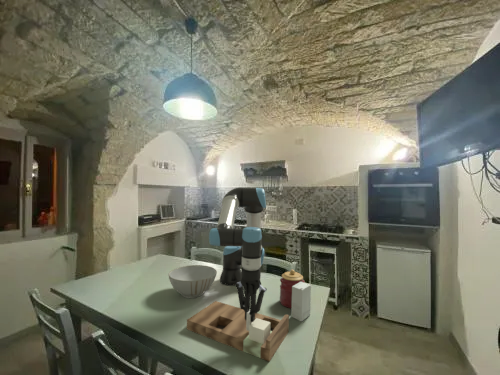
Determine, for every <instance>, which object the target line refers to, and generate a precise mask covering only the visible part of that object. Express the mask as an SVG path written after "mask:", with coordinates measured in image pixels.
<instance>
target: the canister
mask: <svg viewBox="0 0 500 375" xmlns="http://www.w3.org/2000/svg"><path fill="white" fill-rule="evenodd" d="M279 281H280V285H279V288H280V289H279V291H280V292H279V294H280V295H279V302H280V305H282V306H283V307H285V308H289V309H292V286H294V285H296V284H297V283H299V282H303V283H306V282H305V280H304V276H303V275H302V274H301V273H299V272H297V271H295V270H294V269H290V271H285V272H284V273H282V274H281V277H280V279H279Z"/></svg>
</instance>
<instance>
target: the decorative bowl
mask: <svg viewBox="0 0 500 375" xmlns="http://www.w3.org/2000/svg"><path fill="white" fill-rule="evenodd" d="M216 277H217V269H216V268H214V267H213V266H209V265H202V264H190V265H183V266H179V267H176V268H174V269H172V270H171V271H169V272H168V279H169V280H168V281H169V282H170V284H171V286H172V288H173V289H174V291H176V292H177V293H179V294H181V296H182V297H183V298H186V299H195V298H199V297H201V296H203V295H204V294H205V292H206V291H208V290H209V289H210V287H211V286H212V285H213V283H214V282H215V280H216Z"/></svg>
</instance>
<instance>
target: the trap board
mask: <svg viewBox="0 0 500 375" xmlns="http://www.w3.org/2000/svg"><path fill="white" fill-rule="evenodd" d="M256 318H258V319H261V320H265V321H268V322H271V325H270V335H269V337H268V338H267V339H266V342H265V343H264V344H261V343H258V342H256V341H253V340H250V339H249V331H247V330H246V320H245V311H244V310H243V309H241V308H240V307H237V306H233V305H231V304H227V303H224V302H220V301H217V300H215V301H213V302H212V303H210V304H209V305H207V306H205V307H204V308H203V309H201V310H200V311H198V312H196V313H195V314H193V315H192V316H191V317H188V318H187V319H186V330H188V331H190V332H193V333H196V334H197V335H200V336H203V337H205V338H208V339H211V340H213V341H216V342H218V343H221V344H223V345H225V346H229V347H230V348H233V349H236V350H239V351H242V352H243V353H245V354H246V353H247V354H249V355H252V356H254V357H256V358H259V359H261V360H264V361H265V362H271V360H272V359H273V357H274V356H275V354H276V353H277V351H278V350H279V348H280V346H281V345H282V343H283V341H284V340H285V338H286V337H287V335H288V333H289V330H290V328H289V326H290V324H289V323H290V322H289V321H290V314H284V315H283V317H282V318H281V319H278V318H276V317H273V316H272V317H271V316H268V315H264V314H262V313H259V312H258V313H255V319H256Z"/></svg>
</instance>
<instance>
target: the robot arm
mask: <svg viewBox="0 0 500 375" xmlns="http://www.w3.org/2000/svg"><path fill="white" fill-rule="evenodd" d="M221 205H222V208H221V211H220V213H219V219H218V221H217V225H216V227H214V228H210V230H209V234H208V242H209V244H210V246H215V247H216V246H217V247H223V253H222V271H221V274H220V277H219V282H220V284H222V285H225V286H235V288H236V290H237V296H238V302H239V308H241V309H243V310H244V311H245V320H246V330H247V331H249V325H250V324H251V323H252V322H253V321H254V320H255V313H258V314H259V313H260V311H261V307H262V304H263V299H264V296H265V293H266V292H267V288H266V287H264V286H263V285H262V282H261V272H262V271H261V267H262V265H263V264H264V258H265V249H264V247H263V245H262V238H263V235H262V229H261V222H262V221H261V218H262V213H263V212H264V210H265V209H266V208H267V201H266V193H265V189H264V188H262V187H235V188H232V189H231V190H229V191H228V192H227V193H226V194H225V195H224V196H223V198H222V201H221ZM238 208H244V211H245V213H246V227H244V228H234V225H235V220H236V215H237V210H238ZM257 291H258V292H257ZM257 294H258V296H257Z"/></svg>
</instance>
